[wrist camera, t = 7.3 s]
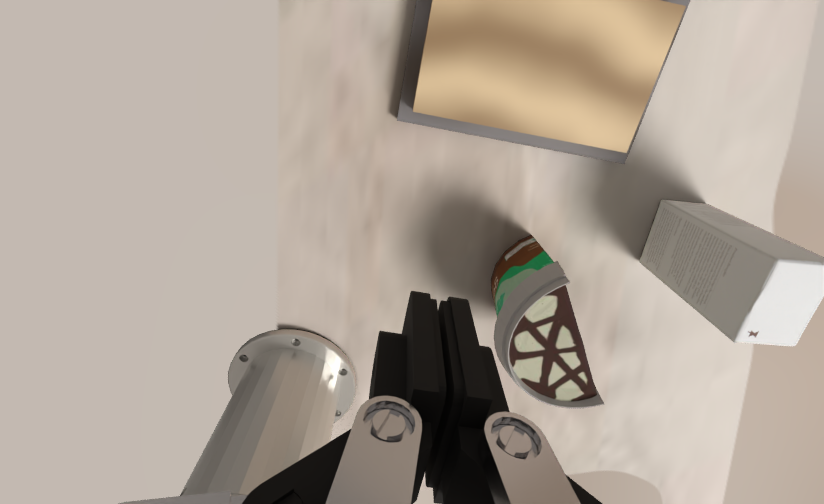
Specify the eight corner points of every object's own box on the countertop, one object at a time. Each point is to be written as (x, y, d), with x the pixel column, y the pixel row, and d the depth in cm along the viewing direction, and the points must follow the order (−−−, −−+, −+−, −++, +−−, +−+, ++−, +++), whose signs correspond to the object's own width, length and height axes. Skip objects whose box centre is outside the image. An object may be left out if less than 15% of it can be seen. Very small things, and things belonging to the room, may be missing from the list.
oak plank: (617, 148, 32) (626, 153, 31) (412, 109, 31) (412, 111, 29) (672, 8, 28) (686, 6, 27) (439, -45, 27) (441, -50, 25)
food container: (458, 245, 36) (475, 306, 27) (526, 219, 35) (567, 275, 26) (500, 350, 41) (526, 432, 32) (561, 330, 40) (605, 409, 31)
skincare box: (683, 265, 37) (795, 350, 26) (637, 261, 37) (731, 345, 26) (709, 201, 35) (846, 265, 24) (660, 196, 35) (775, 259, 24)
